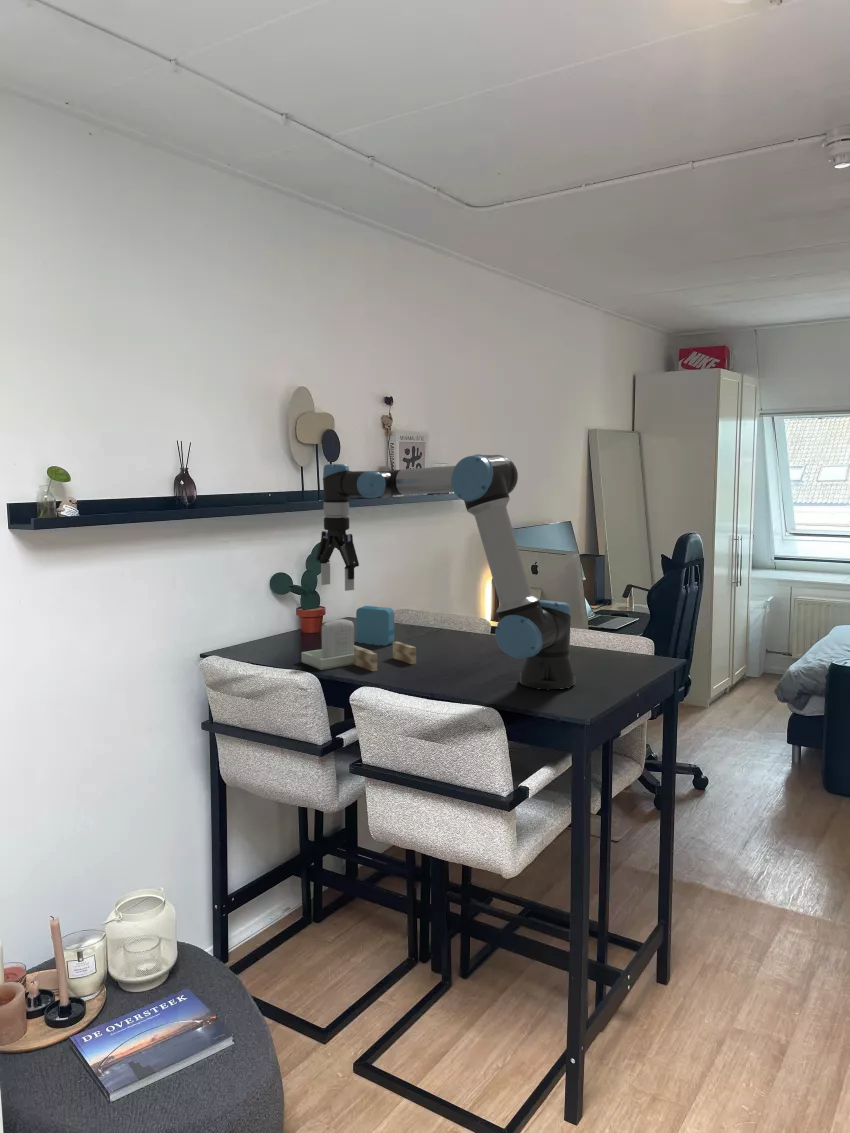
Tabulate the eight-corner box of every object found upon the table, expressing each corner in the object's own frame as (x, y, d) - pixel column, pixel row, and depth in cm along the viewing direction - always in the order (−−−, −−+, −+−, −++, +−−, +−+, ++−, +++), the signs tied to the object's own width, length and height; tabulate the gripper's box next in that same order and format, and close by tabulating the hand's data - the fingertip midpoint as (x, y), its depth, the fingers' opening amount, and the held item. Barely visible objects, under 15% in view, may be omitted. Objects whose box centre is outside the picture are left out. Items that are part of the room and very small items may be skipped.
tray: (373, 661, 258) (373, 651, 258) (321, 670, 247) (321, 660, 247) (352, 653, 267) (352, 644, 267) (301, 662, 257) (301, 652, 256)
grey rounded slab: (349, 656, 262) (348, 616, 260) (356, 658, 258) (356, 618, 257) (319, 660, 256) (319, 620, 254) (326, 663, 252) (326, 622, 251)
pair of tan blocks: (416, 663, 255) (416, 647, 255) (372, 671, 246) (372, 654, 245) (397, 657, 263) (397, 641, 262) (354, 664, 254) (354, 648, 253)
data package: (394, 643, 282) (394, 608, 280) (388, 646, 278) (388, 610, 276) (362, 640, 287) (362, 605, 285) (356, 643, 282) (355, 607, 281)
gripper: (370, 518, 244) (370, 591, 247) (326, 513, 264) (326, 581, 266) (348, 519, 239) (348, 594, 242) (304, 514, 259) (305, 583, 262)
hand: (337, 587), depth 254 cm, fingers open, 13 cm apart
